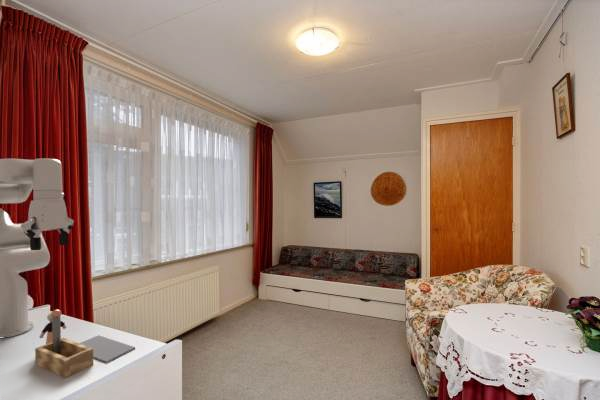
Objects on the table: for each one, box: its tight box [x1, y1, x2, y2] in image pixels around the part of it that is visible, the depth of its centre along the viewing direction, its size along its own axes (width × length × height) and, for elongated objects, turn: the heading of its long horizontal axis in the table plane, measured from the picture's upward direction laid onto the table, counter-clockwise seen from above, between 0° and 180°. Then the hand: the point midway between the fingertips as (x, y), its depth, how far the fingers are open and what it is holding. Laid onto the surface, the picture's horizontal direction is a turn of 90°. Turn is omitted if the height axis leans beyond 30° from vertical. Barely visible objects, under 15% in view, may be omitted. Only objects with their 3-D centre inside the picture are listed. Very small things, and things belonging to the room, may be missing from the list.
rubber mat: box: [78, 334, 136, 364], centre depth 102 cm, size 20×10×1 cm, turn 65°
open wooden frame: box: [34, 337, 94, 379], centre depth 93 cm, size 16×8×5 cm, turn 65°
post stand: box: [50, 309, 62, 355], centre depth 94 cm, size 3×3×16 cm
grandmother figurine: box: [39, 311, 67, 345], centre depth 102 cm, size 8×4×13 cm, turn 168°
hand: (50, 247), depth 101 cm, fingers open, 9 cm apart
